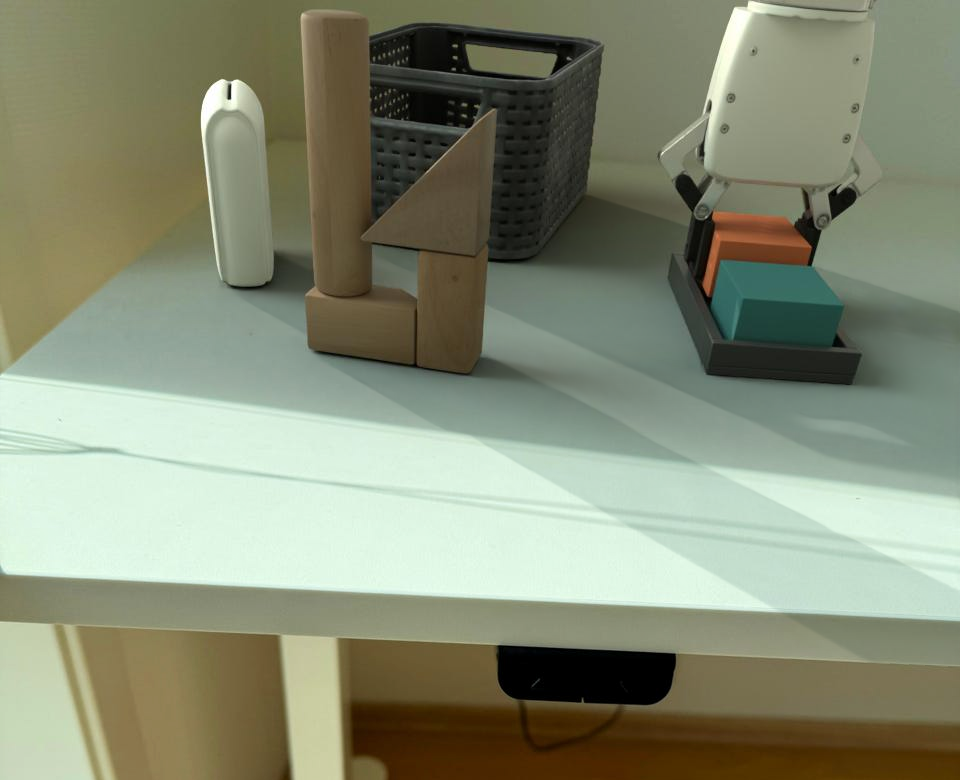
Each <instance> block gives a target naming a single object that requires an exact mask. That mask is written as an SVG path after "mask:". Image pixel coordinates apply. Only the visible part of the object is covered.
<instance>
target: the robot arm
mask: <svg viewBox="0 0 960 780" xmlns="http://www.w3.org/2000/svg"><path fill="white" fill-rule="evenodd" d="M876 1H877V0H748V2H747V6H735V7H734V8H733V10H732V13H731V15H730V17H729V22H728V23H727V26H726V29H725V33H724V35H723V37H722V41H721V44H720V47H719V51H718V54H717V58H716V61H715V65H714V68H713V72H712V76H711V80H710V83H709V86H708V87H709V88H708V91H707V95H706V99H705V103H704V107H703V111H702V115H701V116H699V118H697V119H696V120H695V121H694V122H693V123H691V124H690V125H689V126H688V127H686V128H685V129H684V130H682V131H681V132H680V133H679V134H677V135H676V136H675V137H673V138H672V139H671V140H670V141H669V142H668V143H666V144H665V145H663V146H662V147H661V148H660V149H659V150H658V152H657V161H658V162H659V163H660V165H661V168H663V170H664V172H665V173H666V175H667V177H668V178H669V181H670V182H671V183H672V185H673V186H674V188H675V190H676V192H677V193H678V194H679V196H680V197H681V199H682V200H683V202H684V203H685V205H686V206H687V208H688V210H690V212H691V215H690V221H689V224H688V225H689V226H688V231H687V236H686V241H685V247H684V261H685V262H689V268H690V270H691V272H692V274H693V276H694V278H702V276H703V277H704V275H705V271H706V267H707V262H708V257H709V253H710V248H711V243H712V239H713V234H714V230H715V222H714V221H713V219H712V216H713V211H715V208H716V207H717V205H718V204H719V203H720V201H721V199H722V198H723V197H724V195H725V193H726V192H727V190H728V189H729V187H730V186H731V184H732V183H734V184H735V183H736V184H747V185H757V186H759V185H760V186H772V187H773V186H774V187H784V188H785V187H786V188H797V189H798V188H799V189H800V193H801V198H802V206H803V209H804V210H803V212H802V214H801V217H798V218H797V220H796V221H794V223H793V226H794V227H795V228H796V230H797V231H798V232H799V233H800V234H801V235H802V236H803V238H804V239H805V240H806V241H807V242H808V243H809V245H810V246H811V247H812V249H811V253H810V257H809V260H808V264H807V266H812V267H813V263H814V260H815V256H816V252H817V250H818V246H819V241H820V239H821V235H822V231H823V230H826V229H828V228H829V227H830V225H831V223H832V221H833V220H834V219H836V218H837V217H838V216H840V215H841V214H842V213H844V212H845V211H846V210H848V209H849V208H850V207H852V206H853V205H854V204H855V203H856V201H857V199H859V198H860V197H862V196H863V195H865V194H866V193H867V192H868V191H869V190H871V189H872V188H873V187H874V186H875V185H877V184H878V183H879V182H880V181H881V180H882V179H883V178H884V173H885V172H884V170H883V168H882V166H881V164H880V163H879V162H878V160H877V159H876V157H875V155H874V154H873V152H872V151H871V150H872V149H870V147H869V146H868V144H867V143H866V141H865V140H864V138H863V136H862V134H861V133H860V131H859V129H860V125H861V120H862V115H863V111H864V106H865V102H866V95H867V90H868V85H869V78H870V70H871V64H872V58H873V50H874V42H875V41H874V40H875V29H876V21H875V20H874V19H872V18H869V17H868V14H869V10H873V8H874V4H875V3H876ZM693 151H695V158H696V160H697V162H698V163H699V164H701V165H702V166H703V168H704V171H705V173H704V175H703V177H702V178H701V180H700V182H699V183H698V185H696V183H695V182H694V180H693V178H692V177H691V175H690V174H689V171H688V170H687V169H686V167H685V164H684V161H685V159H686V157H687V156H689V154H691V153H692V152H693ZM850 163H851V164H852V166H853V173H852V174H851V175H850V176H849V177H848V178H847V179H846V180H845V181H844V182H843V183H841V181H842V180H843V179H844V178H845V175H846V174H847V172H848V169H849V166H850ZM837 184H838V185H837ZM835 185H837V186H836V187H834V188H833V189H832V190H830V191H828V188H830V187H831V188H832V187H833V186H835Z"/></svg>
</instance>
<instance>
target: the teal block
mask: <svg viewBox="0 0 960 780" xmlns="http://www.w3.org/2000/svg"><path fill="white" fill-rule="evenodd" d="M844 309H845V304H844V303H843V302H842V301H841V300H840V297H838V295H837V294H836V293H835V292H834V290H833V289H832V288H831V287H830V286H829V284H827V282H826V281H825V280H824V278H823V277H822V276H821V275H820V274H819V272H818V271H817V270H816V269H815V268H814V266H813V265H812V266H799V265H785V264H772V263H758V262H744V261H730V260H721V262H720V266H719V271H718V276H717V280H716V285H715V289H714V294H713V299H712V303H711V308H710V313H711V315H712V317H713V319H714V321H715V324H716V326H717V328H718V330H719V332H720V334H721V336H722V338H723V339H725V340H739V341H753V342H767V343H781V344H795V345H810V346H824V347H832V344H833V341H834V338H835V335H836V331H837V328H838V325H839V324H840V322H841V318H842V316H843V315H842V314H843V311H844Z"/></svg>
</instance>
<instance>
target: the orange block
mask: <svg viewBox="0 0 960 780" xmlns="http://www.w3.org/2000/svg"><path fill="white" fill-rule="evenodd" d="M712 219H713V221H714V222H715V230H714V234H713V239H712V243H711V248H710V253H709V257H708V262H707V267H706V271H705V275H704V277H703V276H702V278H699V280H700V282H701V284H702V286H703V288H704V290H705V292H706V294H707V296H708V297H709V298H713V294H714V289H715V285H716V280H717V276H718V271H719V266H720V262H721V260H730V261H744V262H758V263H772V264H785V265H799V266H807V264H808V260H809V257H810V253H811V249H812V247H811V246H810V245H809V243H808V242H807V241H806V240H805V239H804V238H803V236H802V235H801V234H800V233H799V232H798V231H797V230H796V228H795V227H794V224H793V223H791V221H790V220H789V219H788V218H787V217H786V216H777V215H767V214H766V215H765V214H763V215H762V214H752V213H739V212H728V211H715V210H713V216H712Z"/></svg>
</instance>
